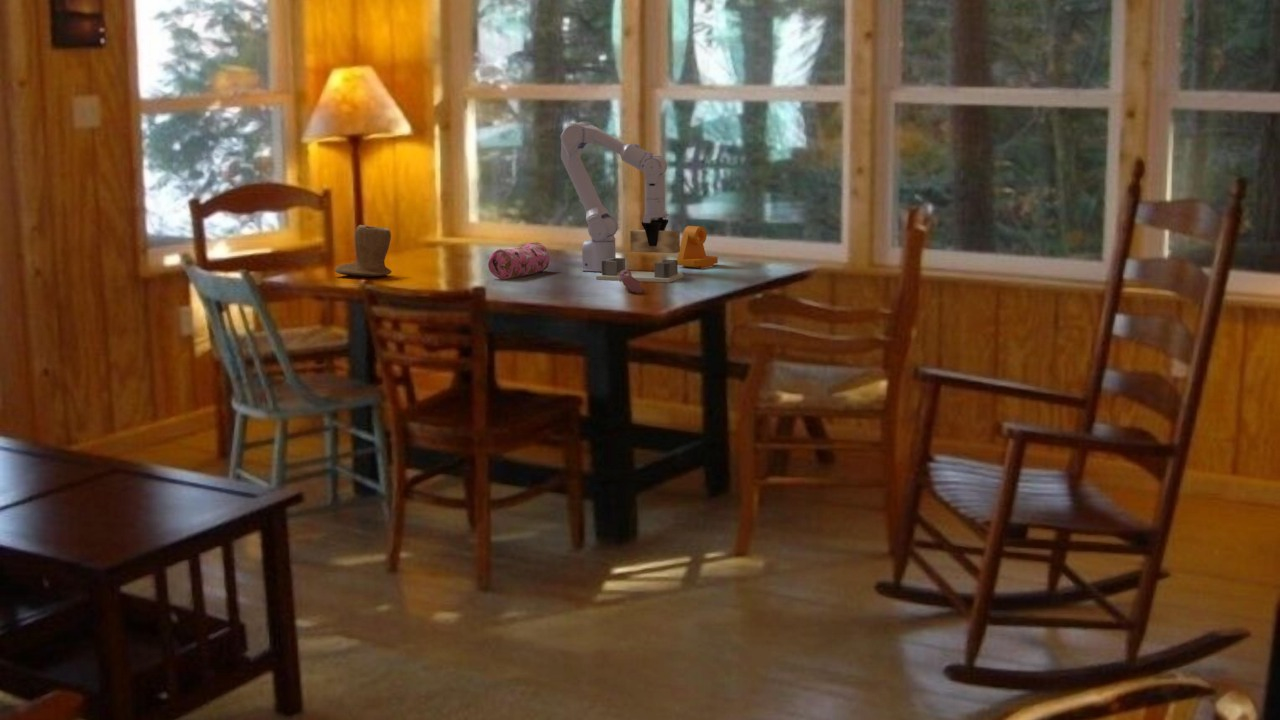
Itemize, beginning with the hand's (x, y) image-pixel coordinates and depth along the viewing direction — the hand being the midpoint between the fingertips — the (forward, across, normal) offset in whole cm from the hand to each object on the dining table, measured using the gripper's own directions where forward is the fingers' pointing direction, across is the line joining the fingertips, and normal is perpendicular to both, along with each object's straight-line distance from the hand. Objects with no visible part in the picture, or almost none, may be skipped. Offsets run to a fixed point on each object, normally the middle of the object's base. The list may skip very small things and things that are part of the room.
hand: (655, 245), depth 504 cm
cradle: (+8, -13, 0) cm, 15 cm away
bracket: (+8, +15, -8) cm, 19 cm away
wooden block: (+2, 0, 0) cm, 2 cm away
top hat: (+8, -31, +78) cm, 84 cm away
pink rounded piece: (+8, -37, -6) cm, 38 cm away
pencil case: (+8, -17, +36) cm, 41 cm away
